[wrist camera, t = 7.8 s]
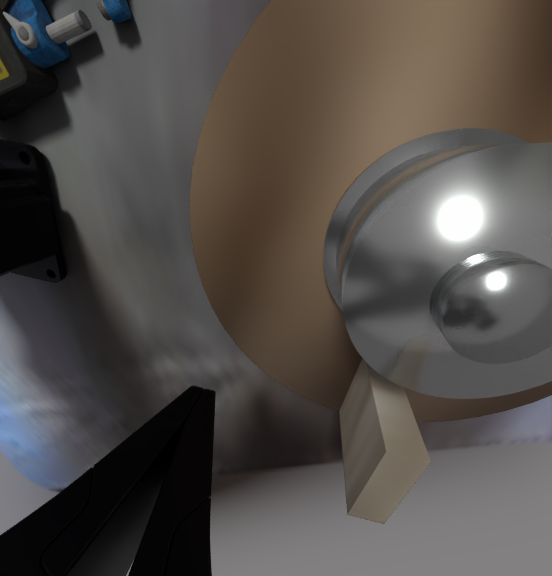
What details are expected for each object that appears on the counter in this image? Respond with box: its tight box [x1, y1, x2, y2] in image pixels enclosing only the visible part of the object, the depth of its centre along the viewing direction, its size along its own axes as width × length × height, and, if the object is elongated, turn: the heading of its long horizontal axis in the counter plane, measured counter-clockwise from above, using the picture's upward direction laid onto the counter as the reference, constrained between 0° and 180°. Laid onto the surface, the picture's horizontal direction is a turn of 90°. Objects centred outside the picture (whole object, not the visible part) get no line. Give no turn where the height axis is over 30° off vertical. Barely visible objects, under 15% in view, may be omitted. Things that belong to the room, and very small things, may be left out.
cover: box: [323, 128, 552, 399], centre depth 7 cm, size 7×7×4 cm
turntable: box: [190, 0, 552, 524], centre depth 8 cm, size 16×16×5 cm
